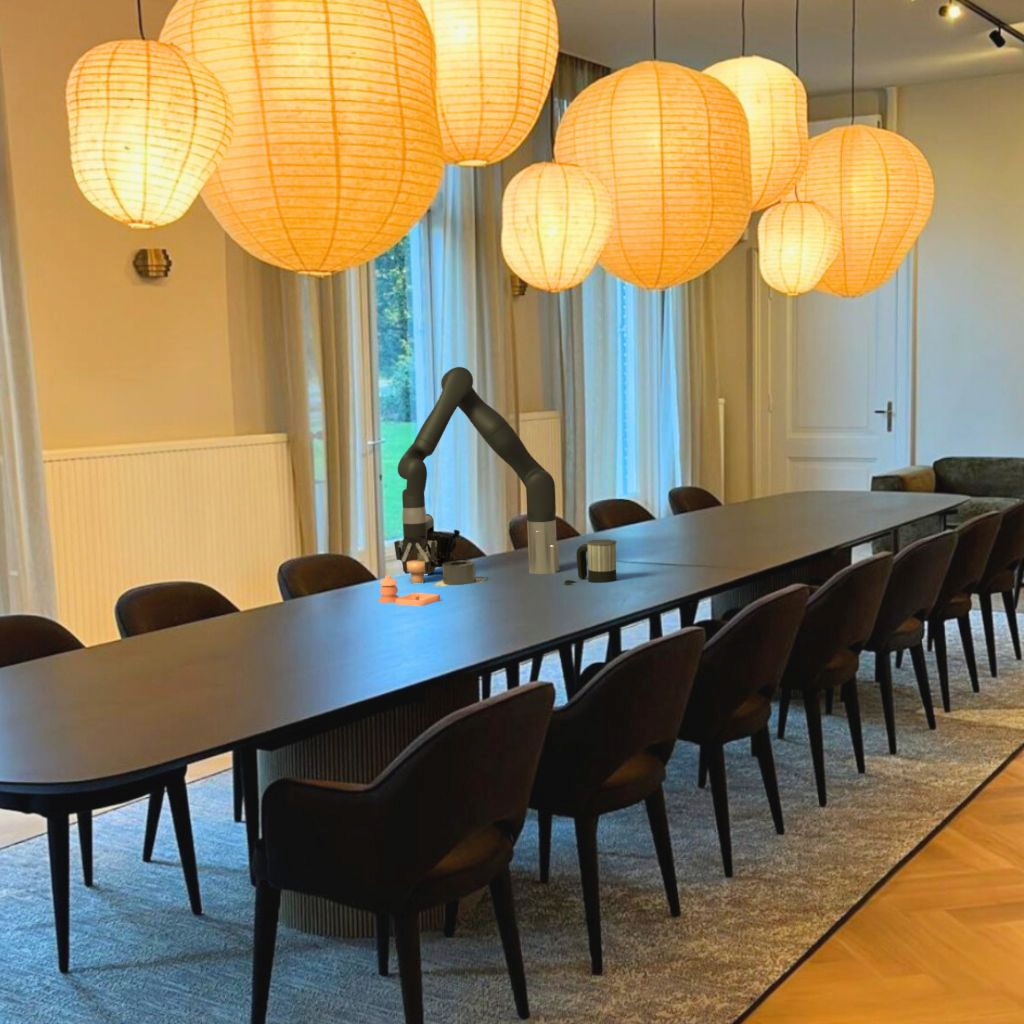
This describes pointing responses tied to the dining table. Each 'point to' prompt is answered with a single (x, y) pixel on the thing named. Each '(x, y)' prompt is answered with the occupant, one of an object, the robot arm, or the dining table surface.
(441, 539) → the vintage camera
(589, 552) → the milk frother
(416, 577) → the tan mushroom shaped knob
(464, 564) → the squat olive cylinder
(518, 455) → the robot arm
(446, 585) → the birch board
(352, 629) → the dining table surface
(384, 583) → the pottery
